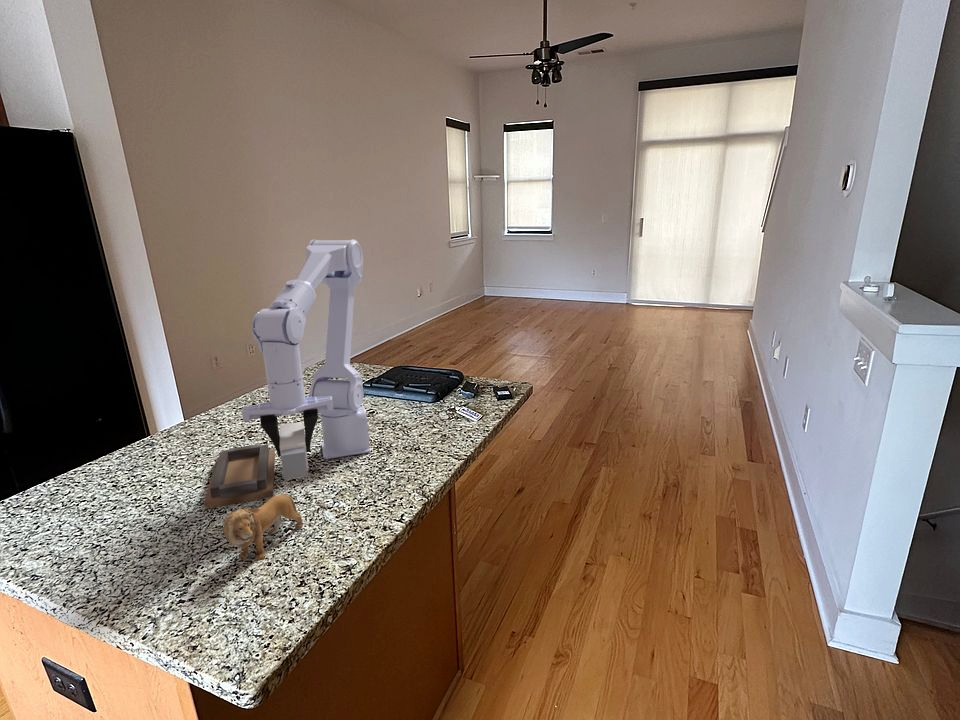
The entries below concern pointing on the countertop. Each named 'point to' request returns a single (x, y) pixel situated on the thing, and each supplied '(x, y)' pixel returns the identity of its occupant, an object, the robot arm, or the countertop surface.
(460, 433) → the countertop surface
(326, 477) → the countertop surface
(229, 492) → the cradle jig
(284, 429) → the white pillar grey cap
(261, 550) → the lion figurine
